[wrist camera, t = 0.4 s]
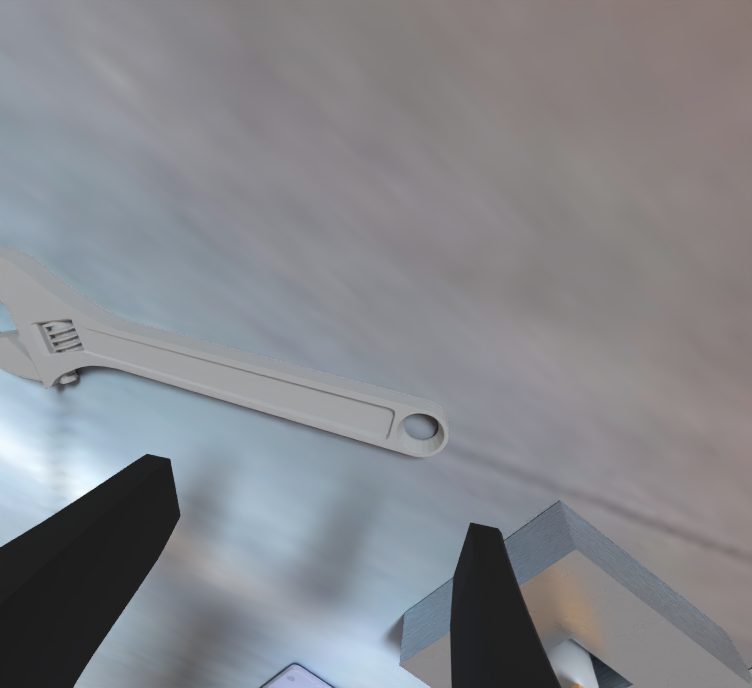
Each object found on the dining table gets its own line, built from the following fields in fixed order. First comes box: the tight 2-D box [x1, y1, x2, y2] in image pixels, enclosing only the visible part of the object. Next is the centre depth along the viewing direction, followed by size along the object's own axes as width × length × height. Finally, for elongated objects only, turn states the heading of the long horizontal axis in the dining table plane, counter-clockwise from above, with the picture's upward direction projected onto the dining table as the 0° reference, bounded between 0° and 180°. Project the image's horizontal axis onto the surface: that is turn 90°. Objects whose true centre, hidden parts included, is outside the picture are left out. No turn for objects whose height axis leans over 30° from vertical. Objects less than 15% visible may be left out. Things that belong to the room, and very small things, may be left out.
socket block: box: [399, 501, 752, 688], centre depth 23 cm, size 12×12×3 cm
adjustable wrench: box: [0, 246, 449, 457], centre depth 22 cm, size 25×6×2 cm, turn 72°
